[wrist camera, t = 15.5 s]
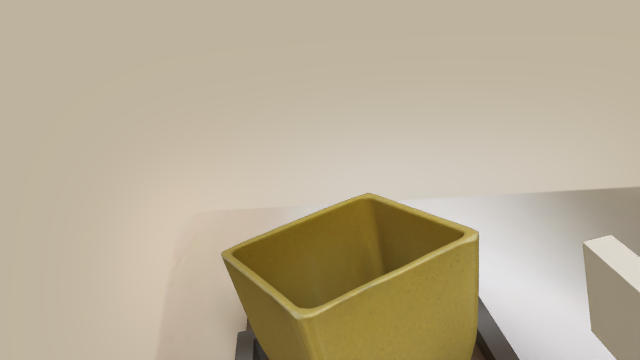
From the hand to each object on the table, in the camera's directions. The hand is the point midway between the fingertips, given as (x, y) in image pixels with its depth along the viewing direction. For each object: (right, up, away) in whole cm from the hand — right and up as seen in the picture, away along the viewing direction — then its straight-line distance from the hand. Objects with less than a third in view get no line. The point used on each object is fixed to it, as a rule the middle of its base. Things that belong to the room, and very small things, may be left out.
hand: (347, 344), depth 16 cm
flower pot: (+2, -7, +14) cm, 16 cm away
